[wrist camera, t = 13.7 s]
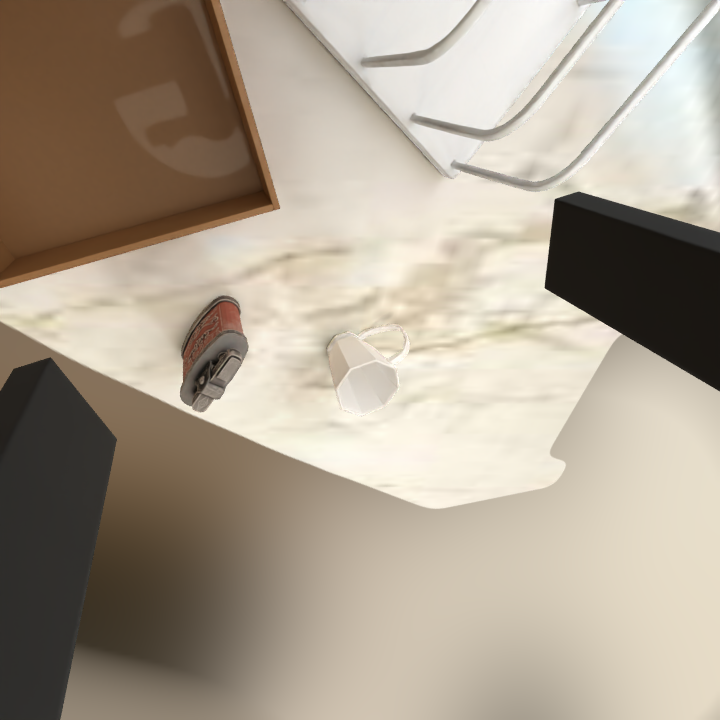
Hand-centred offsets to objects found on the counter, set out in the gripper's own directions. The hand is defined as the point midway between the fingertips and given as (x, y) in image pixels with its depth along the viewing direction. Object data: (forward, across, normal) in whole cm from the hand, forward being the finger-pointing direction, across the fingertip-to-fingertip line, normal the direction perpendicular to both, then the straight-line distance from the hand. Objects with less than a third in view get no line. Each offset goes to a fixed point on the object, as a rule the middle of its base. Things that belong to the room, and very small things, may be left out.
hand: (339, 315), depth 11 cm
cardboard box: (+29, -9, +5) cm, 30 cm away
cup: (+29, +6, -21) cm, 36 cm away
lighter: (+29, -8, -14) cm, 33 cm away
